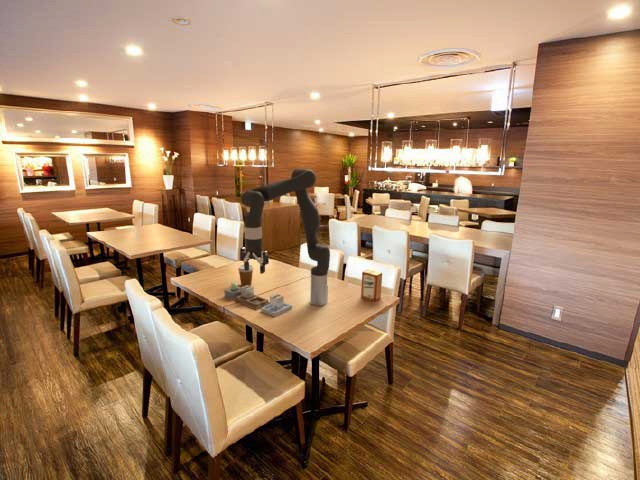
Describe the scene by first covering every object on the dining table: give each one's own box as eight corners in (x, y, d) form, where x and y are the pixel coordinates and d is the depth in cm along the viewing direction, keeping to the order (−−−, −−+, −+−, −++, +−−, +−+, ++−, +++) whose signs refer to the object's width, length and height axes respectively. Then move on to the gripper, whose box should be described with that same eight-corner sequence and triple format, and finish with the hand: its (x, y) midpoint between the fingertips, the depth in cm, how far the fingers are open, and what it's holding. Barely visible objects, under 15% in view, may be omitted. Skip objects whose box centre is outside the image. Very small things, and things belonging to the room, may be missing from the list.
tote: (278, 303, 181) (278, 300, 180) (292, 308, 175) (292, 305, 175) (261, 311, 171) (261, 307, 170) (274, 316, 165) (274, 313, 164)
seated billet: (248, 296, 187) (247, 284, 185) (253, 298, 184) (253, 286, 182) (241, 299, 183) (240, 287, 181) (247, 301, 180) (246, 289, 178)
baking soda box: (380, 298, 192) (382, 272, 189) (375, 301, 187) (377, 274, 184) (366, 293, 198) (368, 268, 194) (361, 297, 193) (362, 271, 189)
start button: (235, 288, 190) (234, 282, 189) (238, 289, 188) (238, 283, 187) (230, 290, 188) (229, 283, 187) (234, 291, 186) (233, 285, 185)
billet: (276, 305, 176) (276, 293, 175) (283, 308, 173) (283, 295, 172) (270, 308, 172) (269, 296, 171) (276, 311, 169) (276, 298, 168)
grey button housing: (235, 293, 194) (235, 286, 193) (244, 296, 190) (244, 289, 189) (224, 297, 188) (224, 289, 187) (233, 300, 183) (233, 293, 182)
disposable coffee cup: (236, 284, 208) (235, 266, 206) (249, 281, 214) (249, 263, 212) (242, 288, 201) (242, 270, 199) (256, 285, 207) (256, 267, 205)
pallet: (248, 295, 191) (248, 291, 190) (270, 304, 180) (270, 299, 179) (234, 301, 183) (234, 296, 182) (256, 310, 172) (256, 305, 172)
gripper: (271, 237, 144) (272, 272, 147) (246, 233, 150) (247, 267, 154) (261, 240, 137) (262, 276, 141) (235, 236, 143) (236, 271, 147)
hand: (254, 271), depth 147 cm, fingers open, 8 cm apart
